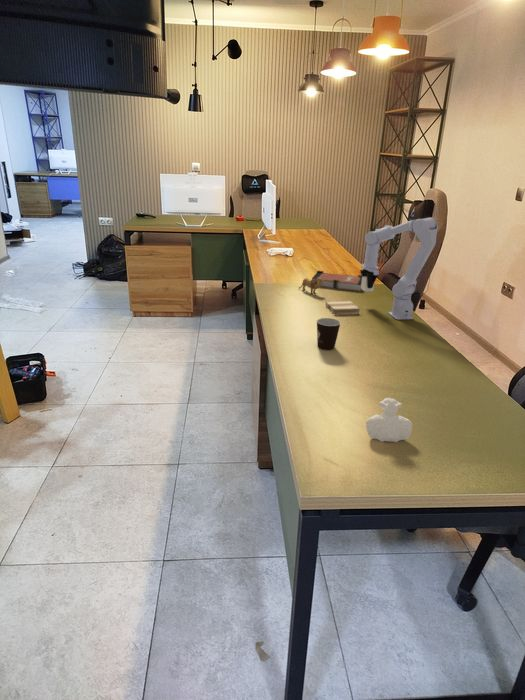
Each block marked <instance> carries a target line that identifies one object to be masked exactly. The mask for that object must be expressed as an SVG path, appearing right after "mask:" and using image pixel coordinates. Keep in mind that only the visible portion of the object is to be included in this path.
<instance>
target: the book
mask: <svg viewBox="0 0 525 700" xmlns="http://www.w3.org/2000/svg"><path fill="white" fill-rule="evenodd" d="M317 277H318V278H321V279H322V281H323V284H322V285H321V286H322V287H321V288H327V287H329V289H334V288H336V290H344V289H346V290H345V291H352V290H354V291H355V292H361V290H362V289H361V282H362V275H361V274H358V276H356V275H355V276H354V275H348V274H337V273H330V272H329V273H328V272H324V270H317V271H316V273H315V274H314V275H313V276H312V277H311V280H312V279H315V278H317ZM354 291H353V292H354Z"/></svg>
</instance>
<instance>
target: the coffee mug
mask: <svg viewBox="0 0 525 700" xmlns="http://www.w3.org/2000/svg"><path fill="white" fill-rule="evenodd" d="M340 326H341V321H339V320H338V319H336V318H331V317H321V318H318V319H317V320H316V336H317V337H316V339H317V348H318V347H319V348H318V349H320V350H324V351H333V350H335V347H336V343H337V339H338V335H339V331H340Z"/></svg>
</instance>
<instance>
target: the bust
mask: <svg viewBox="0 0 525 700" xmlns="http://www.w3.org/2000/svg"><path fill="white" fill-rule="evenodd" d="M402 405H403V403H401V402H400V401H397V400H396V399H395V398H392V397H385V398H384V399H383V400H381V401H379V406H381V407H380V409H381V410H383V412H382V413H381V414H373V415H372V416H370V417H369V418H368V419H367V420H366V421H365V425H366V427H365V428H366V432H367V435H368V437H369V438H371V439H374V440H378V441H380V442H390V443H391V442H392V443H397V442H399V441H404V440H407V439H408V438H409V437H410V435H411V434H412V431H413V422H412V421H411V420H410V419H408V418H407V417H404V416H402V415H397V414H396V413H398V412H399V409H401V406H402Z"/></svg>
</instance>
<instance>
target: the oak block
mask: <svg viewBox="0 0 525 700" xmlns="http://www.w3.org/2000/svg"><path fill="white" fill-rule="evenodd" d="M325 306H326V307H327V308H328V309H329V310H330V311H331V312H332V313H333V314H332V313H331V312H330V311H329V312H330V313H331V314H332V315H334V314H341V315H342V314H347V315H359V314H360V310H361V309H360V308H359V307H358V306H357V305H356V304H355V303H353V302H352V301H351V300H331V301H330V300H329V301H325ZM326 307H325V308H326ZM327 308H326V309H327ZM328 309H327V310H328ZM341 315H340V316H341ZM342 316H343V315H342Z"/></svg>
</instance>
